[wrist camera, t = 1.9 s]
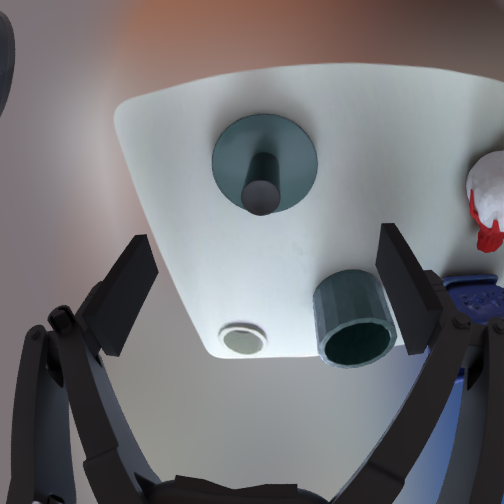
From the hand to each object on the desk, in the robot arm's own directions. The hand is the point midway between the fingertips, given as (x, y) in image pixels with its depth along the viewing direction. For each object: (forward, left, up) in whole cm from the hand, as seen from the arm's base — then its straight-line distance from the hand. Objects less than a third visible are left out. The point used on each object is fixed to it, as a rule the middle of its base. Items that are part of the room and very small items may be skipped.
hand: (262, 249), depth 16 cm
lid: (0, 0, -16) cm, 16 cm away
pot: (+10, -19, -16) cm, 27 cm away
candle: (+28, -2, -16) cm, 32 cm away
